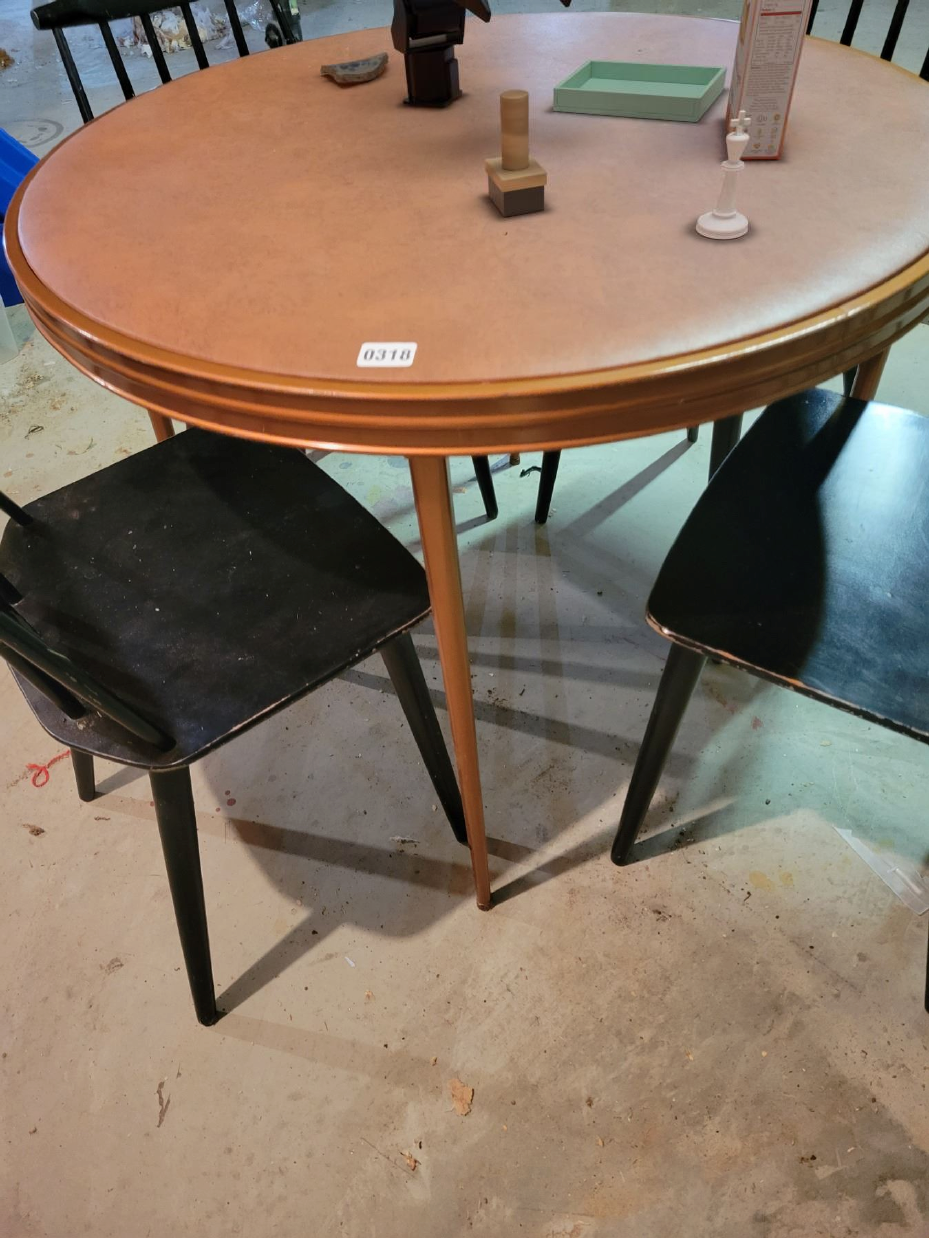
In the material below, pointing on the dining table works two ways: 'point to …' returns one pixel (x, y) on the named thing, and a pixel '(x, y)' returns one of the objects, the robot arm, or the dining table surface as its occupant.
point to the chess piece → (728, 190)
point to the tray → (640, 90)
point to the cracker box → (766, 71)
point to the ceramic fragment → (357, 69)
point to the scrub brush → (515, 161)
